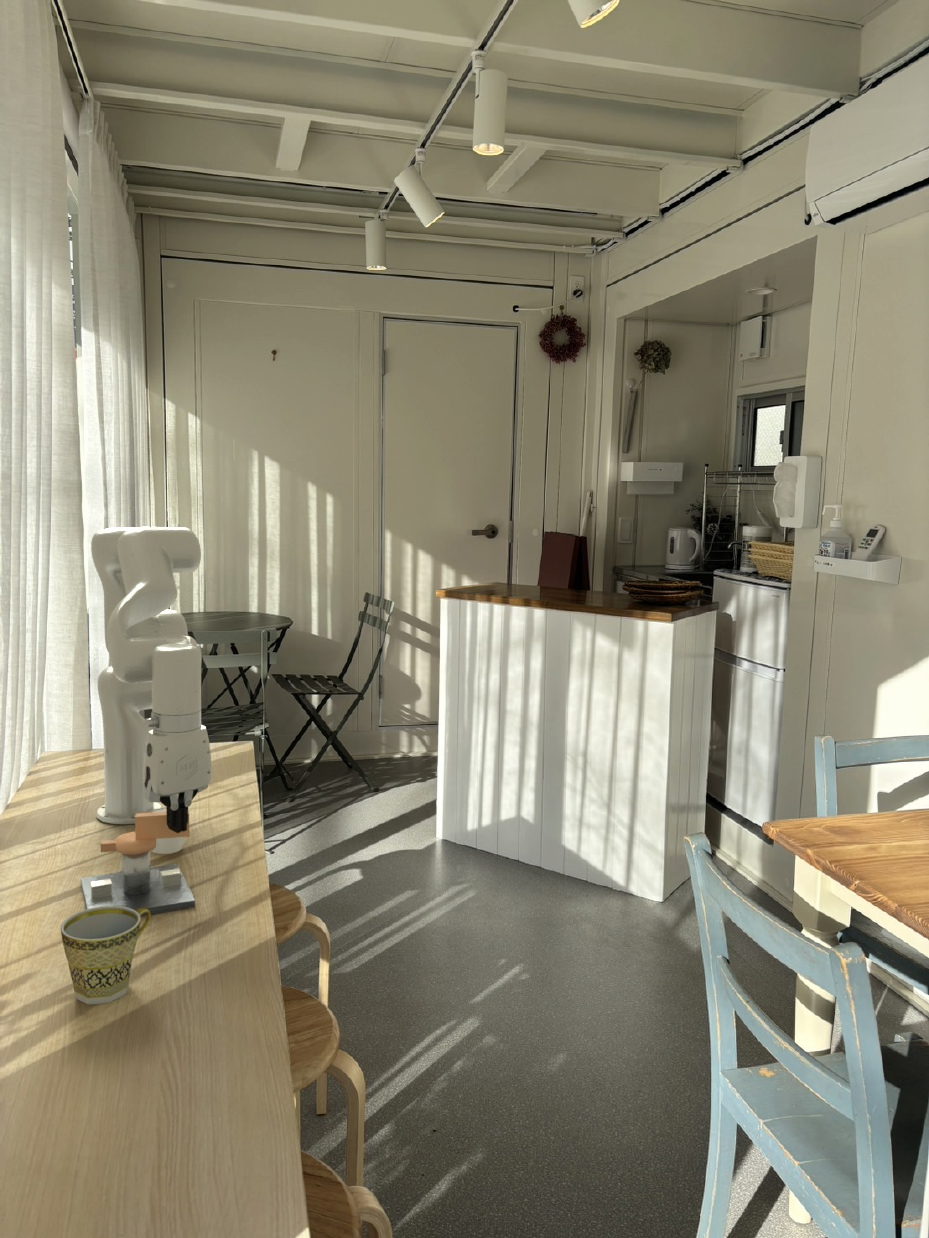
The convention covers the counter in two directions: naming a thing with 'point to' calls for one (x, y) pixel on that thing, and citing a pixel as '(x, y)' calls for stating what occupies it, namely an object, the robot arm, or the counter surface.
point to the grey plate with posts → (139, 887)
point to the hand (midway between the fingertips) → (177, 829)
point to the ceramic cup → (101, 950)
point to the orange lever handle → (143, 834)
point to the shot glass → (167, 841)
